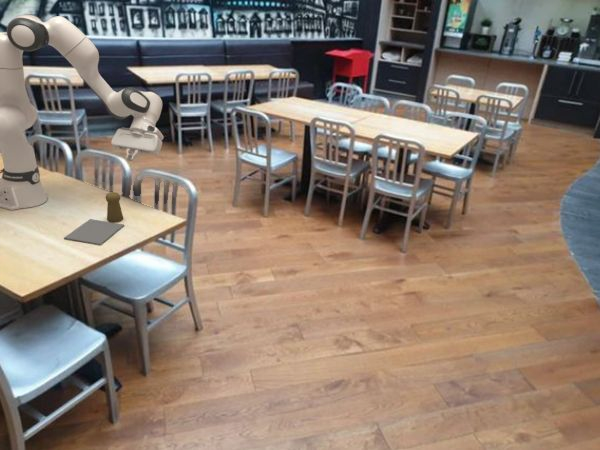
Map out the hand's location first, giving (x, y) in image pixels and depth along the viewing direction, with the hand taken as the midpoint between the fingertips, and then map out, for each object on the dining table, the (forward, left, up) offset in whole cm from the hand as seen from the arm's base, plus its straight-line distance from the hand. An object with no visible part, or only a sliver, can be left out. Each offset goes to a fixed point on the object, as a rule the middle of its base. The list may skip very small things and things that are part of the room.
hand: (129, 160), depth 180 cm
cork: (-1, -12, -21) cm, 24 cm away
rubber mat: (-2, -24, -20) cm, 32 cm away
